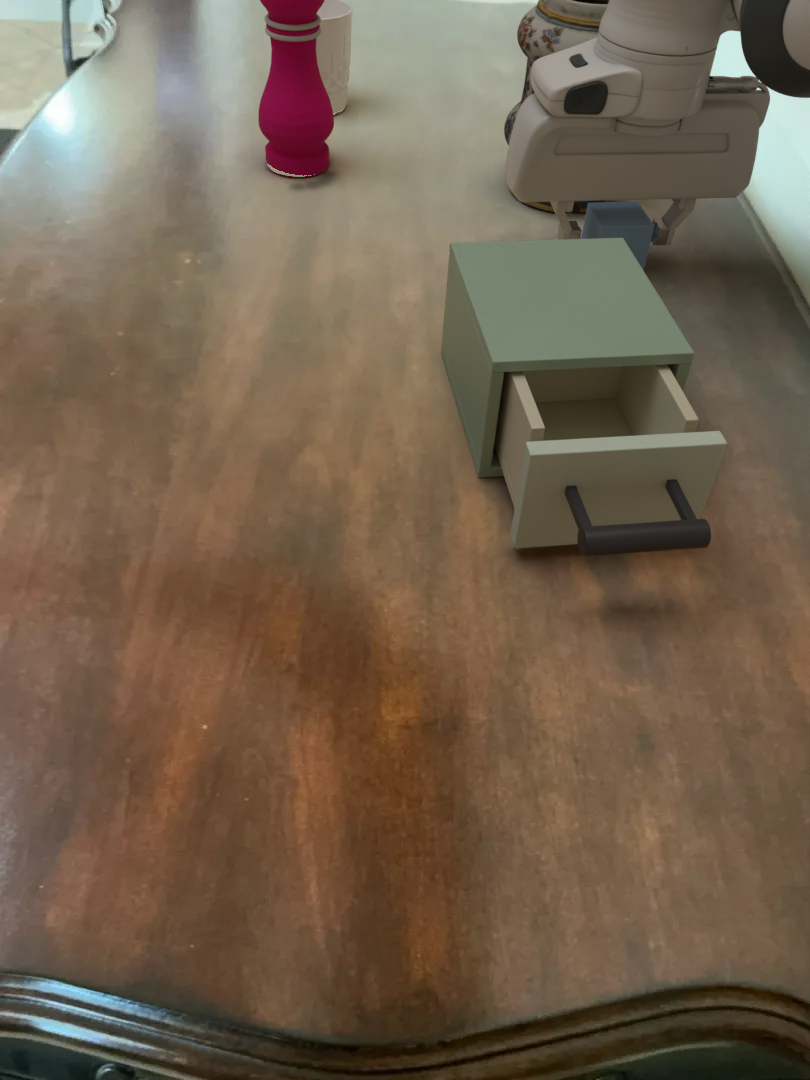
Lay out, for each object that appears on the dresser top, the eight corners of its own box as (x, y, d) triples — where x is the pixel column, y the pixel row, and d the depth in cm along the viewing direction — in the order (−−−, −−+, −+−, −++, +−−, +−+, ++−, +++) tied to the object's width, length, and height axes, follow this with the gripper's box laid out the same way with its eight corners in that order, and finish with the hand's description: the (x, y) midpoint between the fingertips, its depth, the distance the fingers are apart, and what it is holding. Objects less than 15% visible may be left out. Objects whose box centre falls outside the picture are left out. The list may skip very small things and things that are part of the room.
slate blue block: (627, 249, 87) (637, 201, 84) (642, 274, 84) (654, 225, 81) (578, 250, 87) (587, 202, 83) (592, 276, 83) (602, 227, 80)
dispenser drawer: (725, 596, 56) (764, 503, 51) (533, 612, 55) (553, 517, 49) (628, 403, 69) (651, 313, 64) (471, 411, 67) (481, 320, 62)
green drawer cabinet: (660, 466, 66) (695, 352, 59) (477, 478, 64) (493, 361, 57) (599, 345, 76) (623, 237, 69) (440, 352, 74) (450, 242, 68)
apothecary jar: (517, 223, 90) (546, 10, 77) (483, 167, 98) (504, -34, 85) (639, 216, 92) (687, 7, 79) (596, 162, 100) (633, -35, 88)
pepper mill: (293, 143, 100) (284, -82, 86) (348, 163, 97) (349, -67, 83) (245, 166, 96) (228, -67, 82) (302, 187, 93) (295, -51, 79)
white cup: (359, 117, 106) (361, 17, 99) (288, 122, 104) (284, 20, 97) (342, 90, 111) (342, -7, 104) (274, 94, 109) (269, -4, 102)
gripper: (760, 61, 78) (714, 223, 88) (512, 62, 75) (492, 229, 85) (793, 91, 73) (740, 258, 83) (531, 92, 71) (508, 265, 80)
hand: (613, 243), depth 84 cm, fingers open, 7 cm apart
